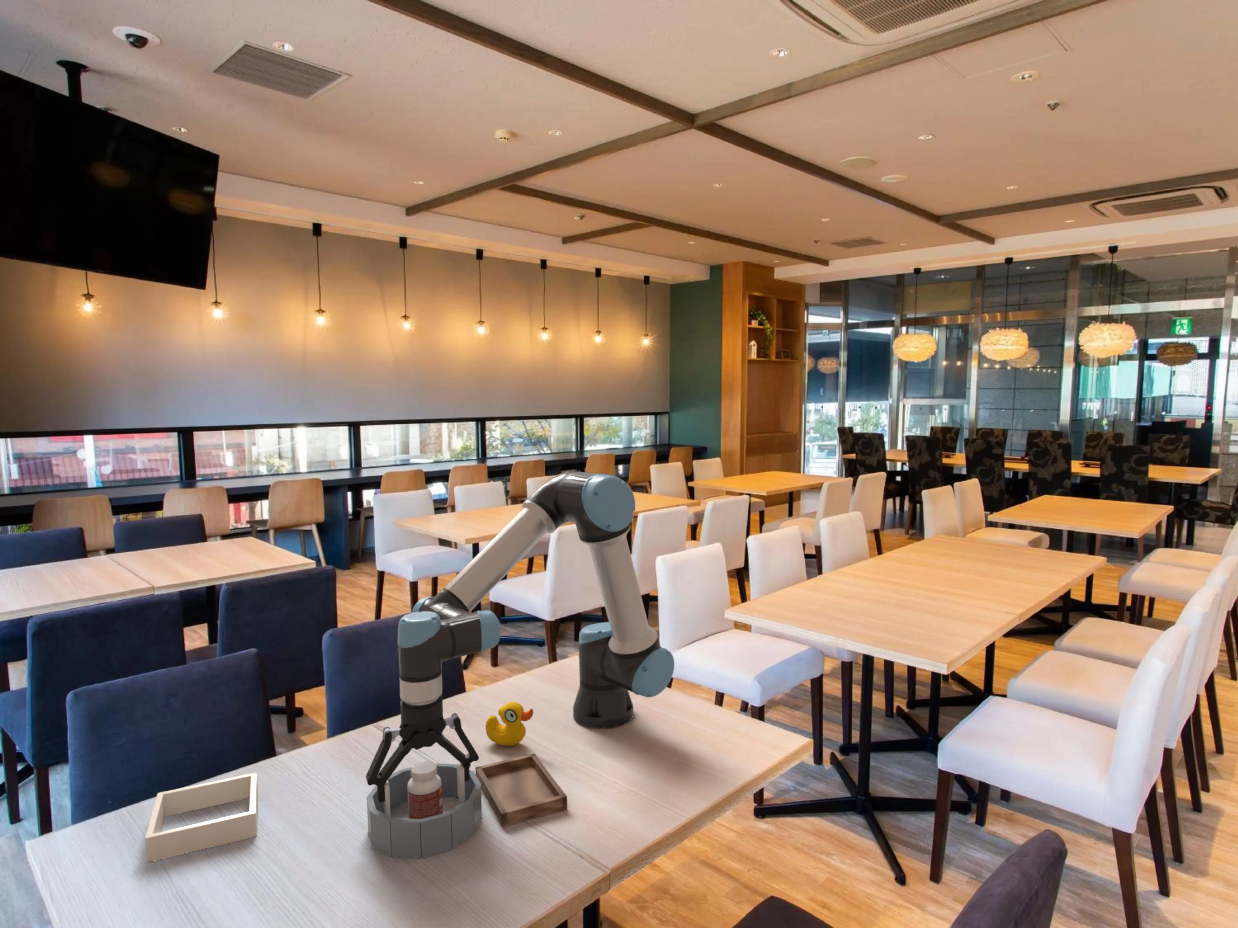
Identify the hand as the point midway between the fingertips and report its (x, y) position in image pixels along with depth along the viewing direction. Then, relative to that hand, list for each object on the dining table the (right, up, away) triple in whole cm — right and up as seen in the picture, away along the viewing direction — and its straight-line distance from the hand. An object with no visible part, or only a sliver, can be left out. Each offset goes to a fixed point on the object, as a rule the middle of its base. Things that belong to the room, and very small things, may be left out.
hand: (425, 806), depth 135 cm
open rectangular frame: (-41, -4, 0) cm, 41 cm away
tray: (+16, -2, +10) cm, 19 cm away
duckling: (+11, -1, +31) cm, 33 cm away
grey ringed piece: (0, -3, 0) cm, 3 cm away
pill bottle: (0, -4, 0) cm, 4 cm away
